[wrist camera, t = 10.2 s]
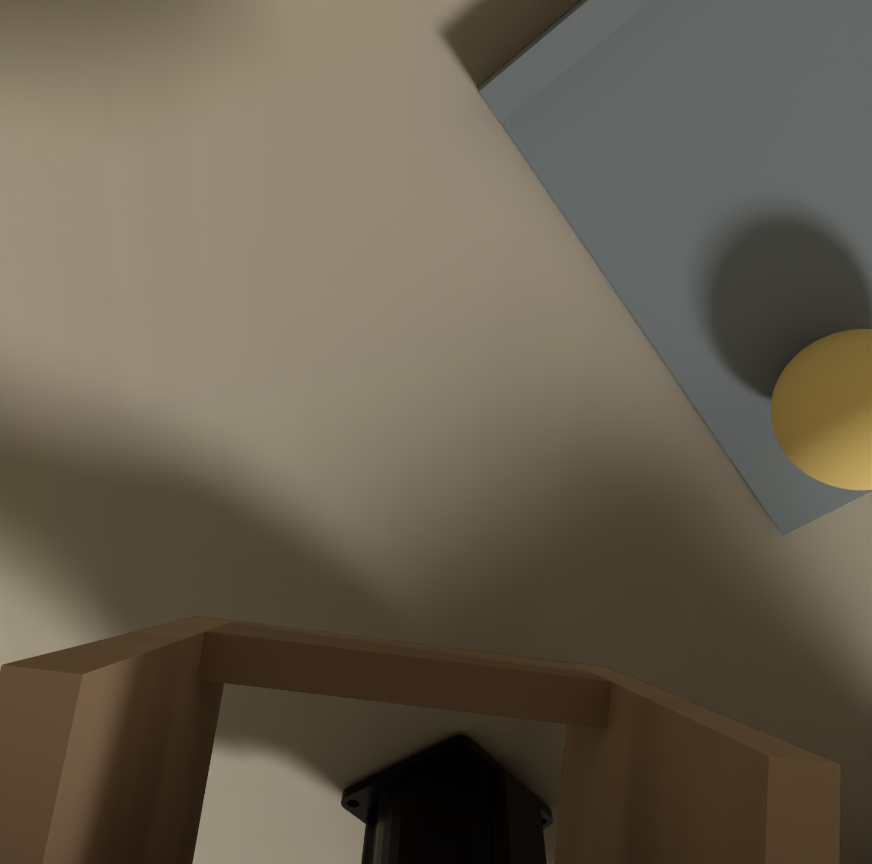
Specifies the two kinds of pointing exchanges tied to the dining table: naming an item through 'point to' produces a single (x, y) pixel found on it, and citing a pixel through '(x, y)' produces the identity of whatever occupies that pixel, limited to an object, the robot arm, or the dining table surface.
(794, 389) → the ball
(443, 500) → the dining table surface
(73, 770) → the box
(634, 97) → the tray mat
